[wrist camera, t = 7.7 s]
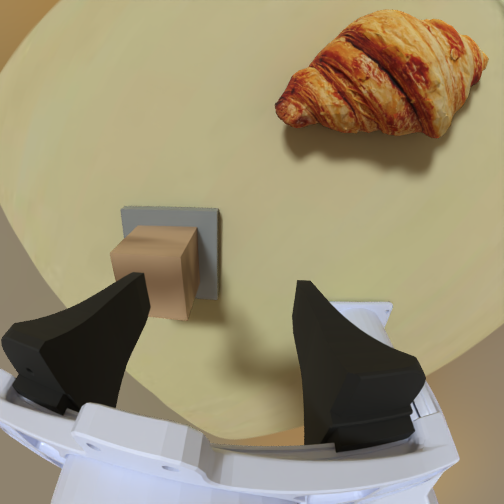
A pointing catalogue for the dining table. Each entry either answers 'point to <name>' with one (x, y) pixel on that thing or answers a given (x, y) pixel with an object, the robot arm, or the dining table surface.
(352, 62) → the croissant
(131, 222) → the slate coaster
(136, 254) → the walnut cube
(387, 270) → the dining table surface
